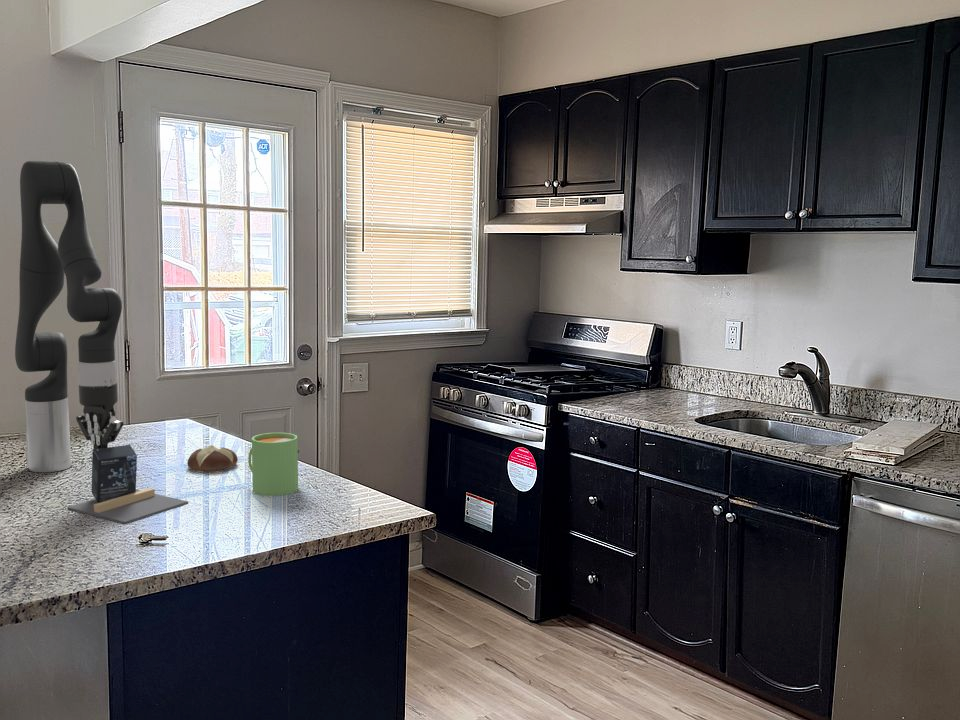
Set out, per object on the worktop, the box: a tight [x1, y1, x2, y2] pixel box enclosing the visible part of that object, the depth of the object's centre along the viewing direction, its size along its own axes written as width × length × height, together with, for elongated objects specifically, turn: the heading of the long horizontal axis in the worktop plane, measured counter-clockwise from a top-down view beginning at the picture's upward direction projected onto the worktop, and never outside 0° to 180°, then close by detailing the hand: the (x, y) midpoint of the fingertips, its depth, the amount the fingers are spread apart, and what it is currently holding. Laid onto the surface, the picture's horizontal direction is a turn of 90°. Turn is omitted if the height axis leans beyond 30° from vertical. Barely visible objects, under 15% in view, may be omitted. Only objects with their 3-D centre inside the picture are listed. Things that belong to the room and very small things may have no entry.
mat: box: [66, 487, 189, 525], centre depth 183 cm, size 18×16×2 cm
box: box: [91, 444, 138, 503], centre depth 185 cm, size 8×6×11 cm
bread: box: [186, 444, 238, 473], centre depth 215 cm, size 11×11×5 cm
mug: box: [247, 432, 300, 497], centre depth 197 cm, size 13×10×12 cm
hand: (101, 460), depth 187 cm, fingers closed
